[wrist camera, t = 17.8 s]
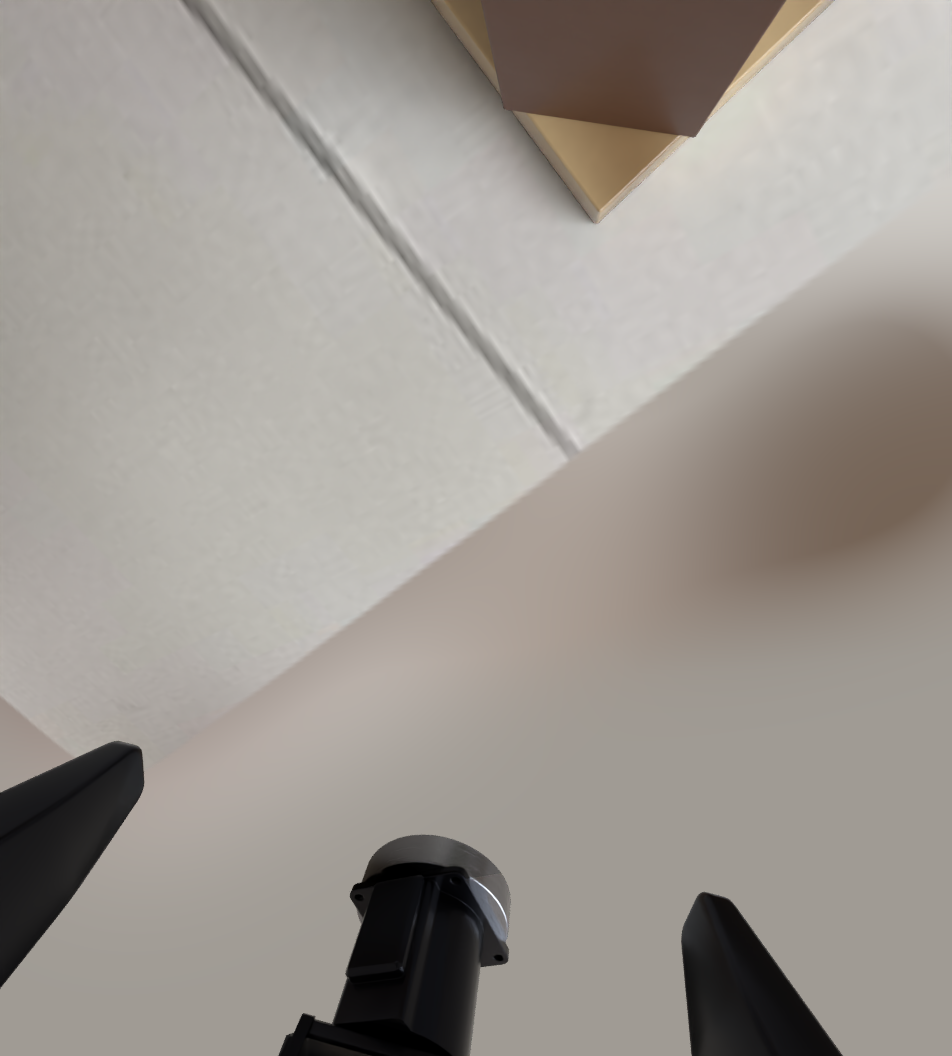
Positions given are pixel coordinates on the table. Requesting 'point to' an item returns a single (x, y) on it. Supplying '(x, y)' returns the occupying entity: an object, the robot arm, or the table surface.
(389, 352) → the table surface
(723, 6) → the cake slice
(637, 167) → the serving board
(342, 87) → the table surface
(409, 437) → the table surface
